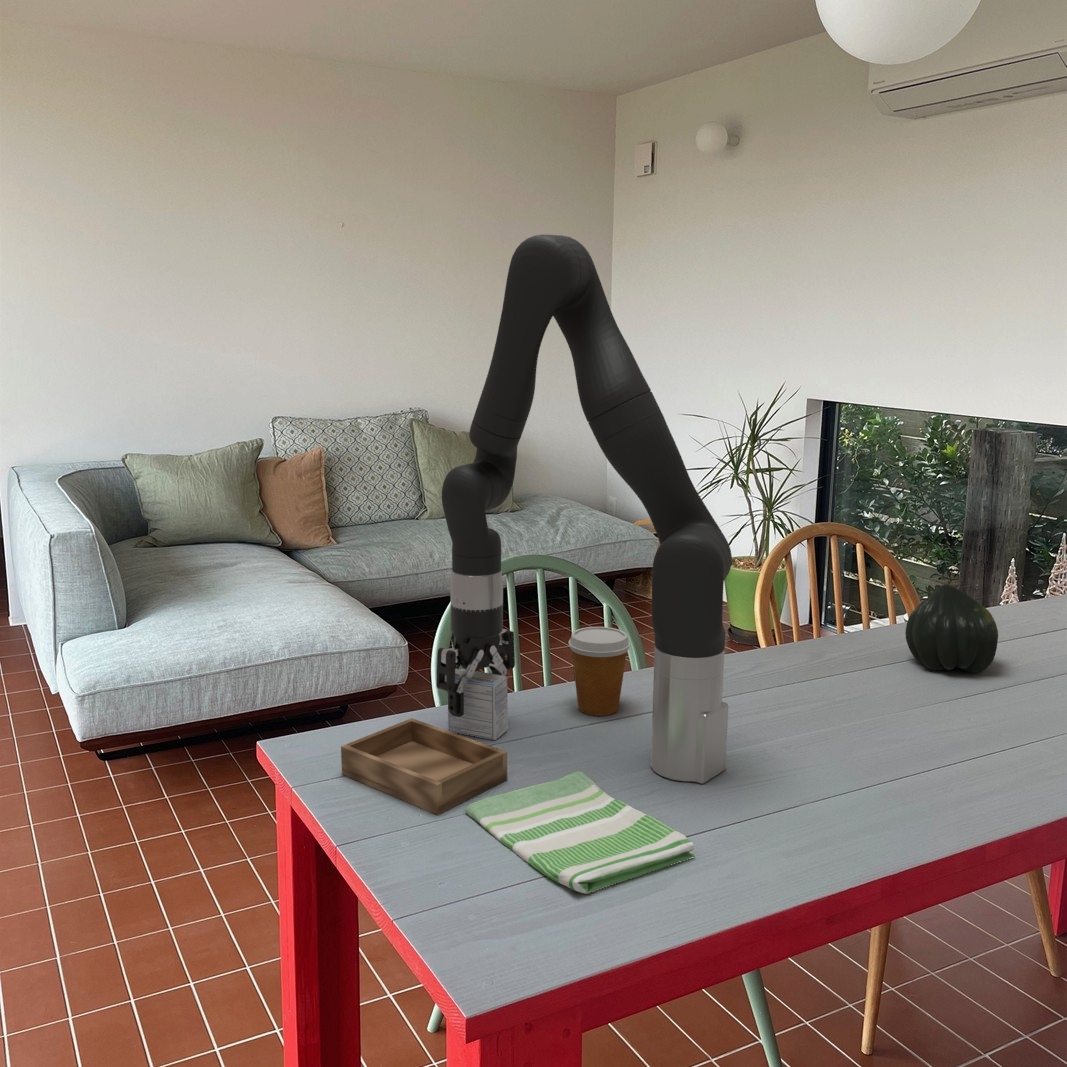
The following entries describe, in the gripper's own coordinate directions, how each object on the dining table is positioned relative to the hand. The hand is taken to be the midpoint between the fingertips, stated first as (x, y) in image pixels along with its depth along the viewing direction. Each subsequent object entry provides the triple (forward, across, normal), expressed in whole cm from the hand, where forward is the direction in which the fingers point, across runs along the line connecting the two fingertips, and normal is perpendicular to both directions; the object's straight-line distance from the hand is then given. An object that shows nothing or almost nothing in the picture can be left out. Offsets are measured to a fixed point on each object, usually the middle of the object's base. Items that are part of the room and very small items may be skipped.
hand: (476, 707), depth 155 cm
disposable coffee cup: (+4, +19, -8) cm, 21 cm away
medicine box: (+4, 0, 0) cm, 4 cm away
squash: (+4, +75, -43) cm, 87 cm away
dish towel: (+4, -15, -30) cm, 34 cm away
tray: (+4, -16, -5) cm, 17 cm away
